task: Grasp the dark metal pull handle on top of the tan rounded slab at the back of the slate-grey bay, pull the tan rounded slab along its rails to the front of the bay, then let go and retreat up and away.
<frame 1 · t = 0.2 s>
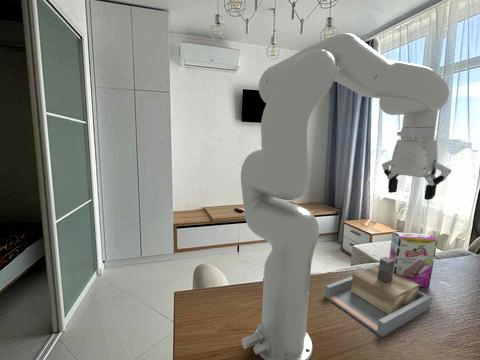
hand: (409, 195, 72), 30 cm above the table, tool pointing down, fingers open, 9 cm apart
bay: (375, 302, 71), on the table
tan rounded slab: (385, 278, 71), point 7 cm above the table, slide at 0.0 cm
candy bar box: (407, 283, 81), on the table
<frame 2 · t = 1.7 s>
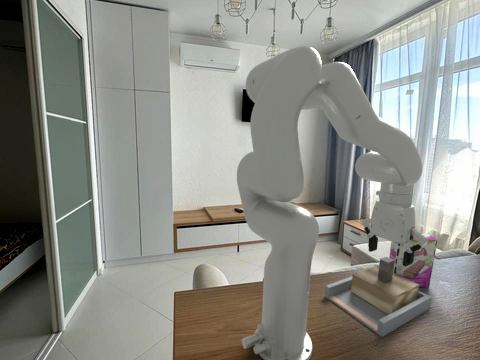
hand: (388, 257, 71), 13 cm above the table, tool pointing down, fingers open, 9 cm apart
nothing on the table moved.
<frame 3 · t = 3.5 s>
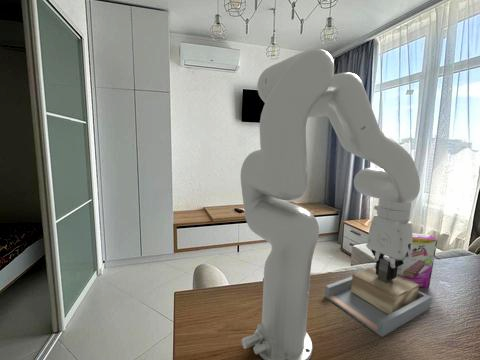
hand: (385, 275, 71), 7 cm above the table, tool pointing down, fingers closed on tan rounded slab, 2 cm apart
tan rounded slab: (385, 278, 71), point 7 cm above the table, slide at 0.0 cm, touching gripper
everything else where it was.
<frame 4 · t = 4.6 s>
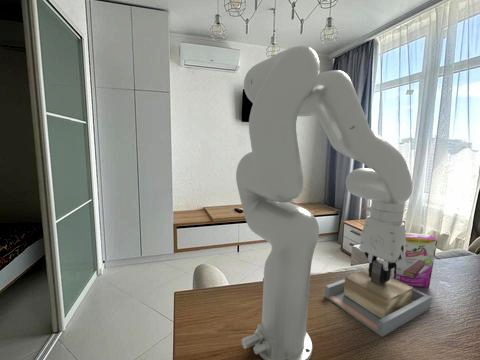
hand: (378, 278, 70), 7 cm above the table, tool pointing down, fingers closed on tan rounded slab, 2 cm apart
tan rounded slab: (378, 281, 70), point 7 cm above the table, slide at 3.2 cm, touching gripper
everything else where it was.
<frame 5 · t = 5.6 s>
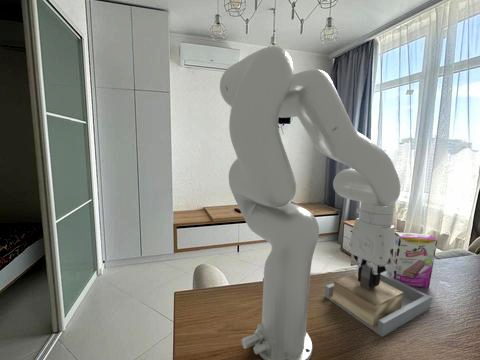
hand: (368, 282, 67), 7 cm above the table, tool pointing down, fingers closed on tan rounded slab, 2 cm apart
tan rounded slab: (367, 285, 67), point 7 cm above the table, slide at 7.9 cm, touching gripper
everything else where it was.
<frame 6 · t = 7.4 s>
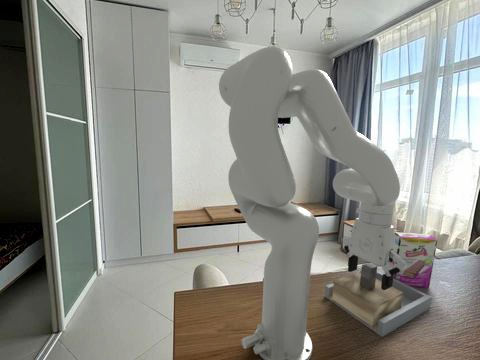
hand: (368, 278, 67), 8 cm above the table, tool pointing down, fingers open, 9 cm apart
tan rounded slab: (367, 285, 67), point 7 cm above the table, slide at 8.0 cm
everything else where it was.
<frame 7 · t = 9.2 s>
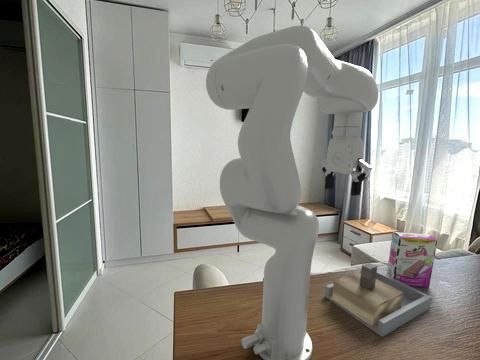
hand: (341, 191, 75), 30 cm above the table, tool pointing down, fingers open, 9 cm apart
nothing on the table moved.
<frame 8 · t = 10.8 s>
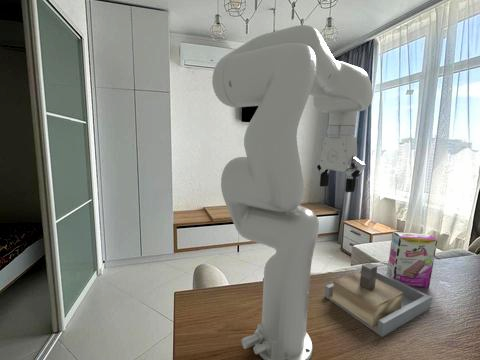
hand: (336, 188, 77), 30 cm above the table, tool pointing down, fingers open, 9 cm apart
nothing on the table moved.
at the end: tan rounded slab slide at 8.0 cm; the gripper is holding nothing; candy bar box moved 0.2 cm from its start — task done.
